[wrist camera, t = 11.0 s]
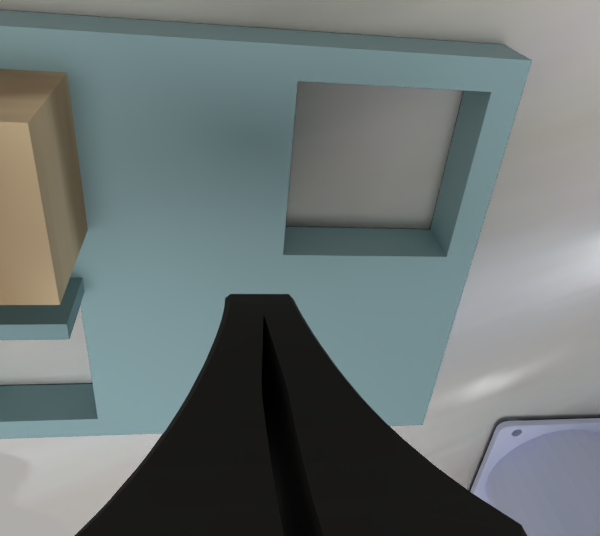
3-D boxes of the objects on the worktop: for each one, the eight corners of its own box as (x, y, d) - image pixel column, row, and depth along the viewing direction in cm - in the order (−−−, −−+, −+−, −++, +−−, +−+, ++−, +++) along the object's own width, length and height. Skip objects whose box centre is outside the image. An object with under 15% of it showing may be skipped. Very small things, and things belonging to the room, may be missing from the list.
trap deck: (504, 44, 19) (583, 90, 15) (410, 392, 28) (443, 481, 24) (-172, -2, 16) (-308, 39, 12) (-37, 403, 25) (-88, 507, 21)
